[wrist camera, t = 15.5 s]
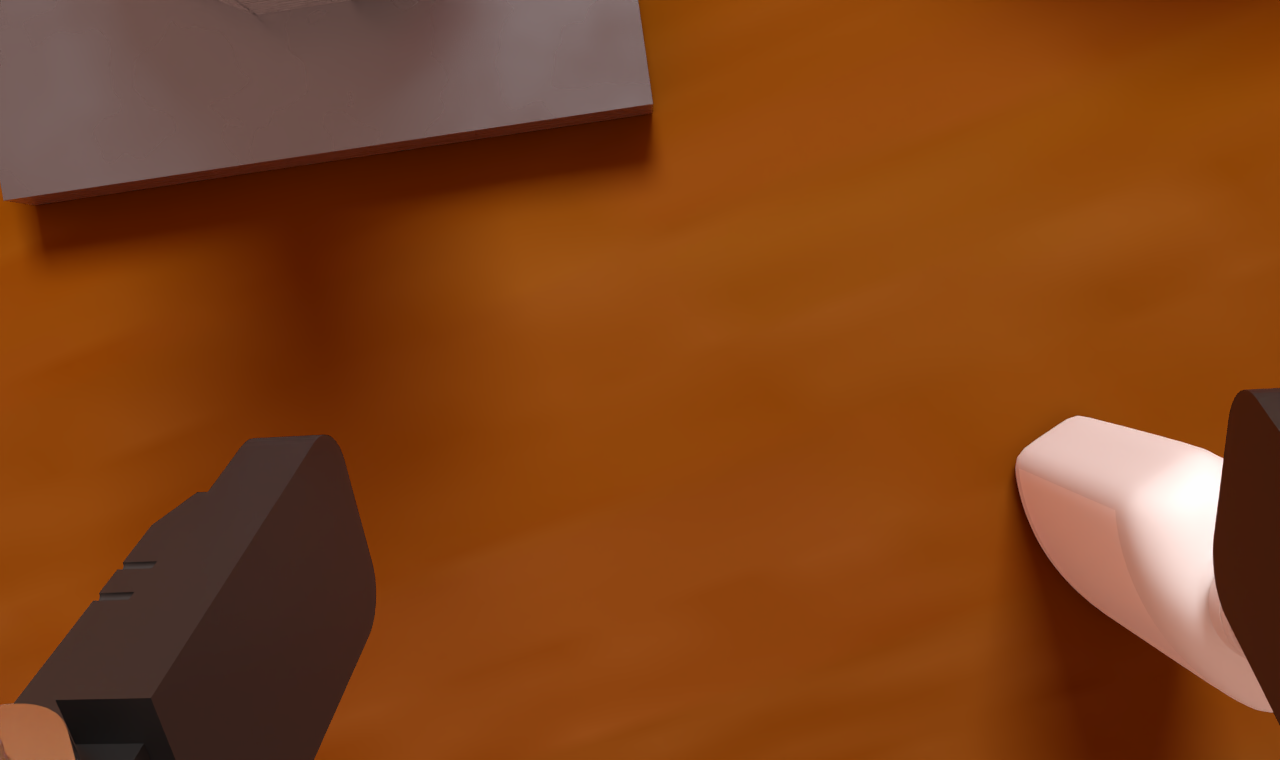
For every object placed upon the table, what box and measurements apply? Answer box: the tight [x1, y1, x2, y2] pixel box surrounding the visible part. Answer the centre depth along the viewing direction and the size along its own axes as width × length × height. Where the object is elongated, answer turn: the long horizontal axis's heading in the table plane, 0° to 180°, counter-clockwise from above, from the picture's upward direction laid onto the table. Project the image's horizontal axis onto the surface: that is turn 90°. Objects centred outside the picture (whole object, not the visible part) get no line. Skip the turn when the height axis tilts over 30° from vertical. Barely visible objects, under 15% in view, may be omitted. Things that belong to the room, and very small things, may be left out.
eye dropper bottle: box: [1015, 416, 1273, 712], centre depth 26 cm, size 4×6×12 cm
